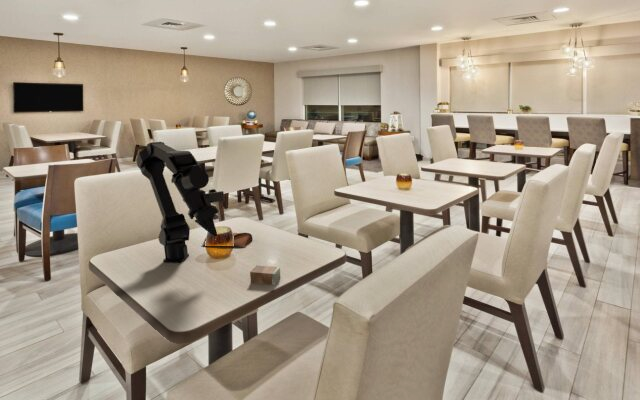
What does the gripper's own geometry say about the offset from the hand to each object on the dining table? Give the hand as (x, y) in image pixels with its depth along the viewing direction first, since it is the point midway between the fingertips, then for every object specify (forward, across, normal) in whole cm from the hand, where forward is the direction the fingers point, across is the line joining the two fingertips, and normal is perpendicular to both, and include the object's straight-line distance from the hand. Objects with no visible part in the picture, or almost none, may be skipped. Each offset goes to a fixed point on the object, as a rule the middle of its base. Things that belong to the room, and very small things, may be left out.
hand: (215, 235), depth 129 cm
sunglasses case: (+10, +26, -5) cm, 28 cm away
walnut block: (+14, -10, -3) cm, 17 cm away
